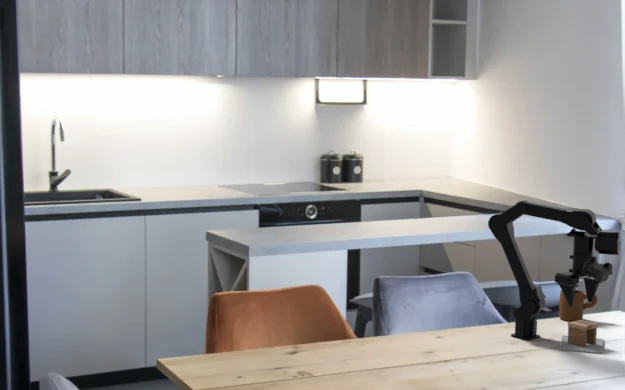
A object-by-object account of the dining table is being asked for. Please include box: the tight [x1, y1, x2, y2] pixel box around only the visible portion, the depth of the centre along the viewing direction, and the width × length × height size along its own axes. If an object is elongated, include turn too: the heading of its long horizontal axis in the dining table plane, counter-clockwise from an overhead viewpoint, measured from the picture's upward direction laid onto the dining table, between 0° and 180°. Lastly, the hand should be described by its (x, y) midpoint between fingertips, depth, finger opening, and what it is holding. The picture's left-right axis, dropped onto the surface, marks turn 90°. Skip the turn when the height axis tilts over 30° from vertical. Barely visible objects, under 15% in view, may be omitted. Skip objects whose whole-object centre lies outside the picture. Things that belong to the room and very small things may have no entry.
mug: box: [558, 289, 598, 322], centre depth 305 cm, size 12×8×9 cm, turn 83°
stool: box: [567, 319, 598, 347], centre depth 273 cm, size 6×6×6 cm
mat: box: [558, 334, 605, 355], centre depth 274 cm, size 16×12×1 cm
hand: (580, 304), depth 274 cm, fingers open, 9 cm apart
